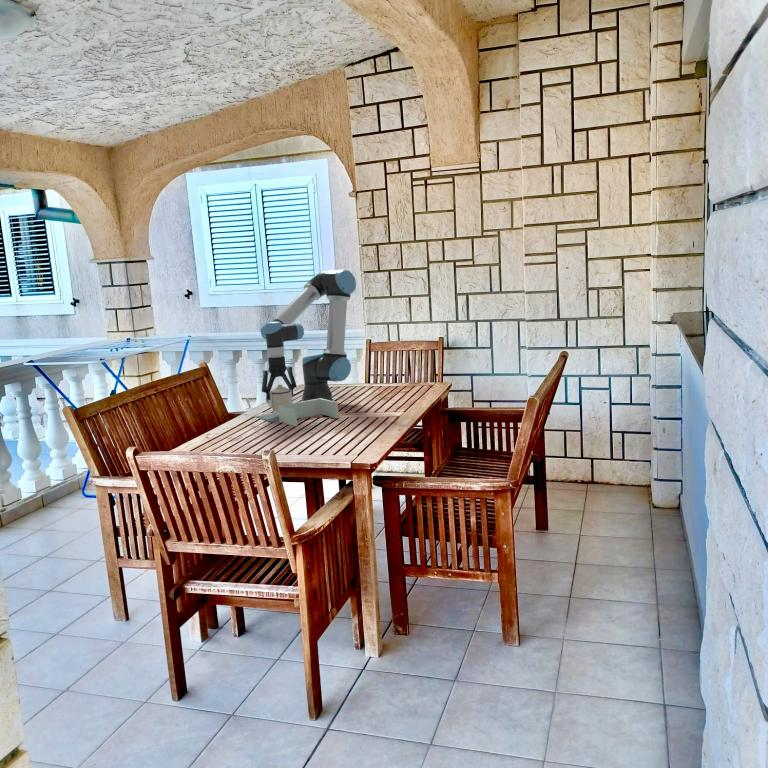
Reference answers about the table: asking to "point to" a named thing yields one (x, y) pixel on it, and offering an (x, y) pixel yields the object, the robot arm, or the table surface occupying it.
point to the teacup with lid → (280, 397)
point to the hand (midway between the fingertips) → (280, 405)
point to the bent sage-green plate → (307, 410)
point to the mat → (270, 417)
